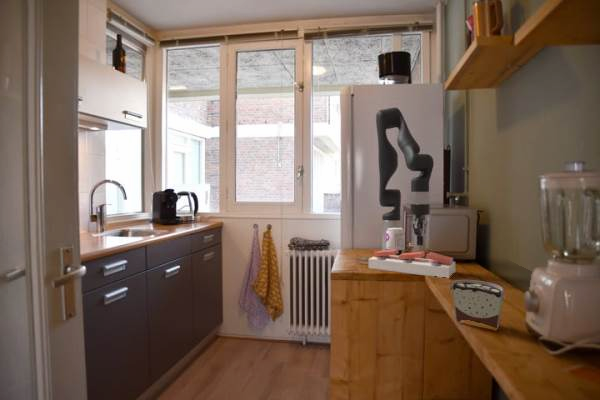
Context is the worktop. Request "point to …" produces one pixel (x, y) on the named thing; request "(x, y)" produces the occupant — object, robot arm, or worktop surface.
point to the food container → (477, 301)
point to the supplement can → (395, 240)
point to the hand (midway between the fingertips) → (420, 245)
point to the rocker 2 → (439, 258)
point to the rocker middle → (411, 255)
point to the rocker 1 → (386, 252)
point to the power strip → (411, 265)
